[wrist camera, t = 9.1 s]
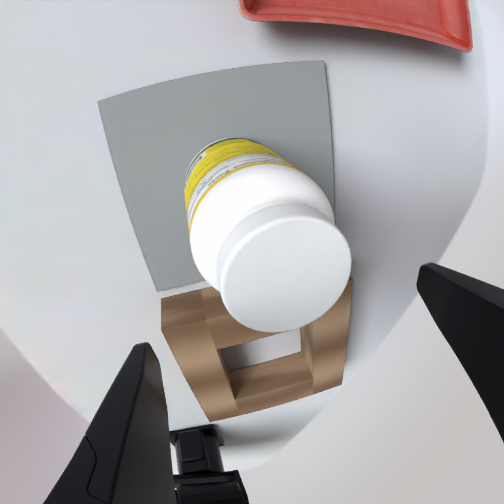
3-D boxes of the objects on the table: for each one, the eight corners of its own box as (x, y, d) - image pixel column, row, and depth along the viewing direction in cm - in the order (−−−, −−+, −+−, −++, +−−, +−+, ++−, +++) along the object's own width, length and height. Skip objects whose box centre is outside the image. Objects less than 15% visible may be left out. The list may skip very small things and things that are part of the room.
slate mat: (332, 244, 24) (334, 247, 24) (157, 288, 23) (157, 291, 22) (321, 60, 17) (323, 60, 17) (98, 101, 15) (97, 101, 15)
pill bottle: (280, 219, 22) (358, 327, 12) (190, 233, 21) (211, 362, 11) (277, 130, 18) (382, 185, 9) (177, 141, 17) (181, 210, 8)
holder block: (329, 360, 32) (341, 384, 29) (205, 395, 31) (209, 422, 28) (332, 255, 25) (352, 279, 22) (161, 298, 23) (161, 330, 20)
